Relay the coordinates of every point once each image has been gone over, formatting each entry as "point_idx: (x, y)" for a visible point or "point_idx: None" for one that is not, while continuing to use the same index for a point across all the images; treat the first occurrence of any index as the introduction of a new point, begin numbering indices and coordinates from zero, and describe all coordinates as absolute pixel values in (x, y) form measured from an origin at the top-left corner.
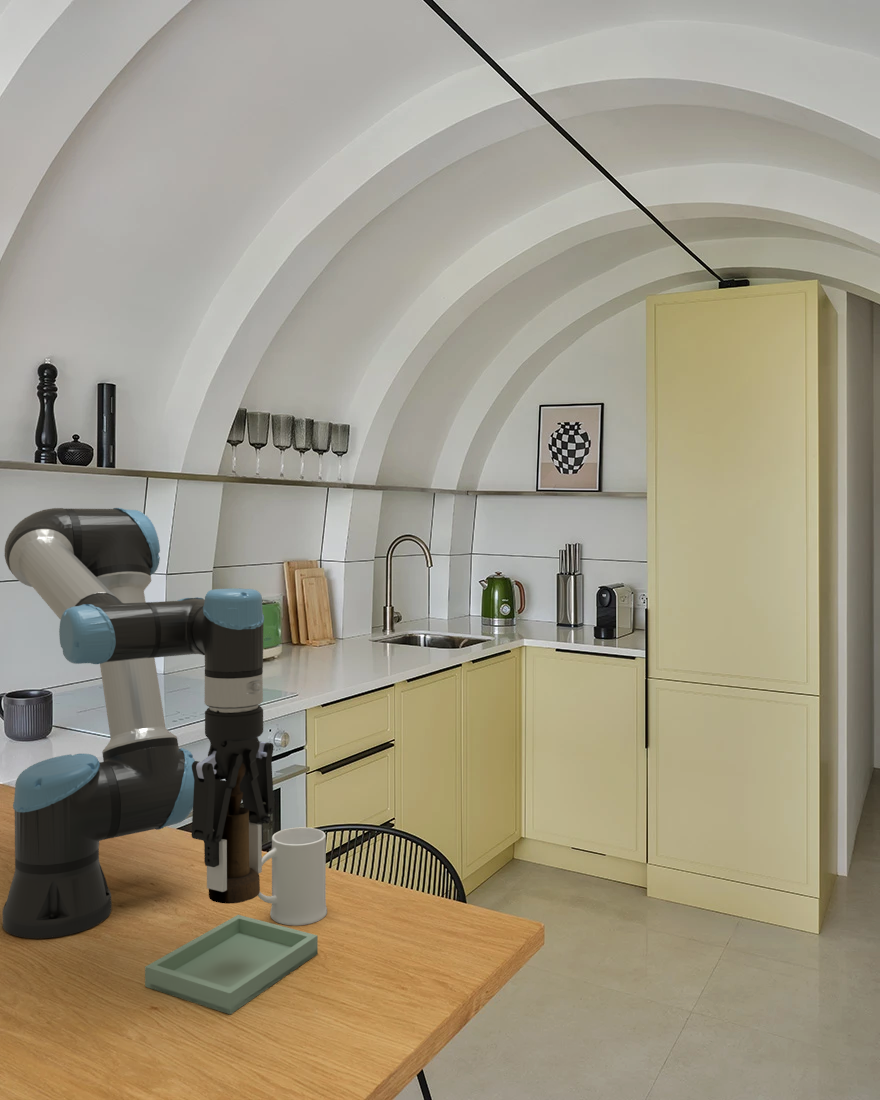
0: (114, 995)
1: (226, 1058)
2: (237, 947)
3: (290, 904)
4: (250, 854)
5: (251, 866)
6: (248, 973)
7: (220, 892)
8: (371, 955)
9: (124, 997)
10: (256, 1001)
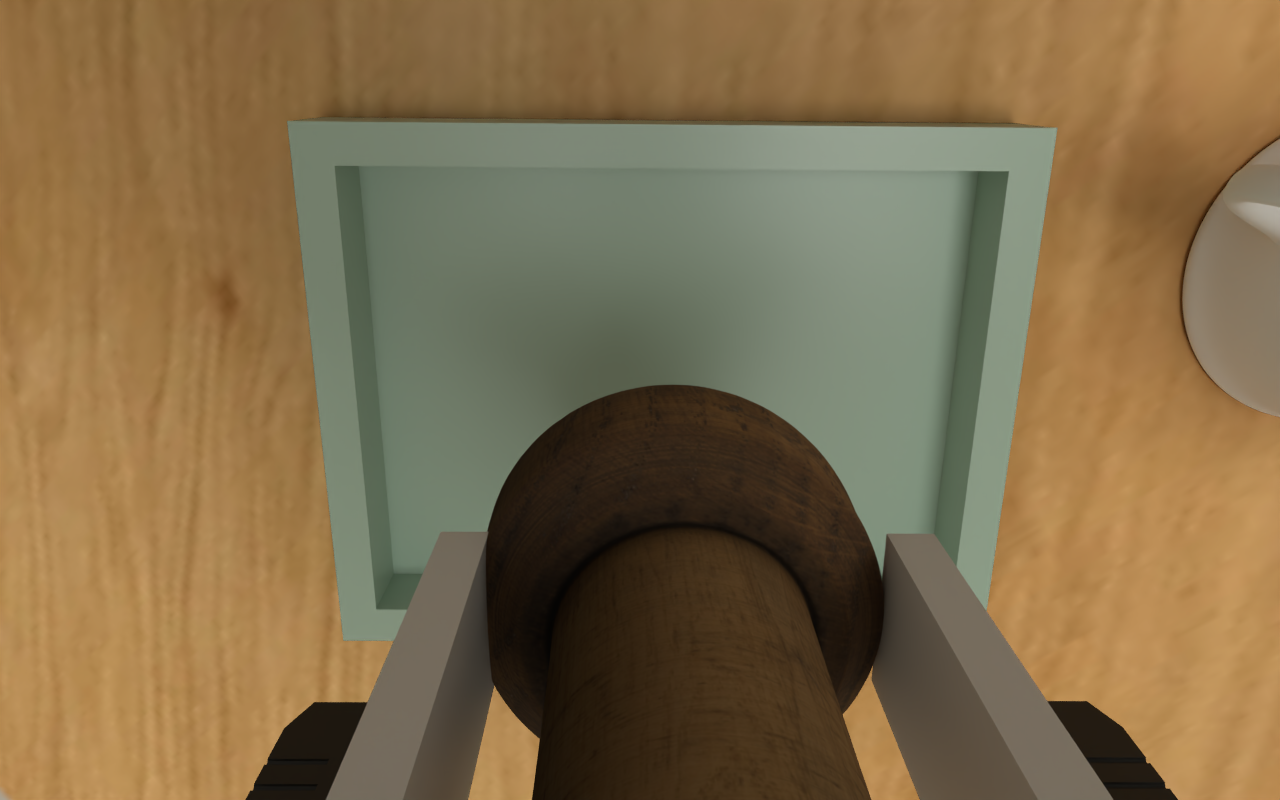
0: (181, 41)
1: (161, 745)
2: (823, 276)
3: (1260, 344)
4: (924, 703)
5: (888, 651)
6: None
7: None
8: None
9: (199, 103)
10: None
